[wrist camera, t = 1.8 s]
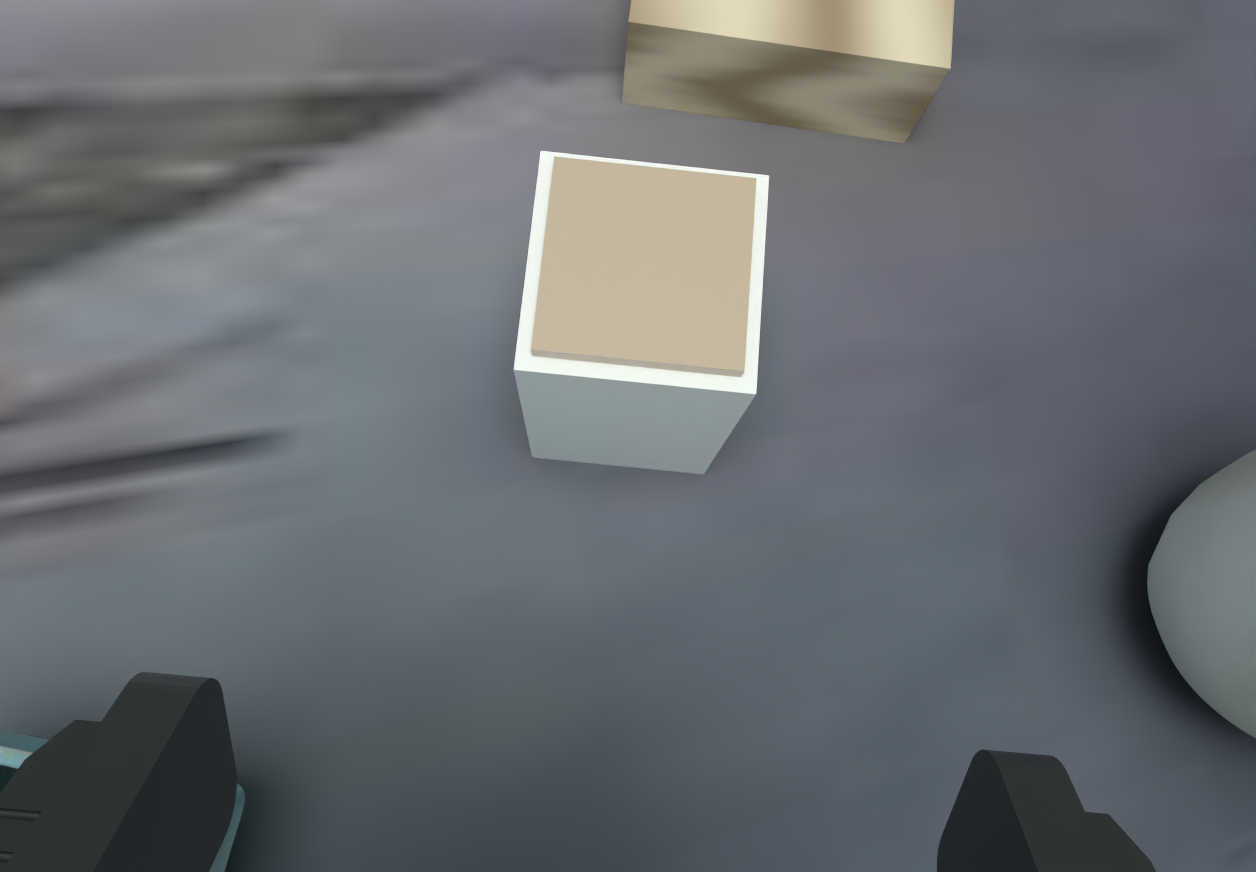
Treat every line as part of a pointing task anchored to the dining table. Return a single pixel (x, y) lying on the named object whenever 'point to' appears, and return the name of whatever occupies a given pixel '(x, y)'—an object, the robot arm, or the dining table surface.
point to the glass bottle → (1212, 591)
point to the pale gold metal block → (792, 61)
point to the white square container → (640, 311)
